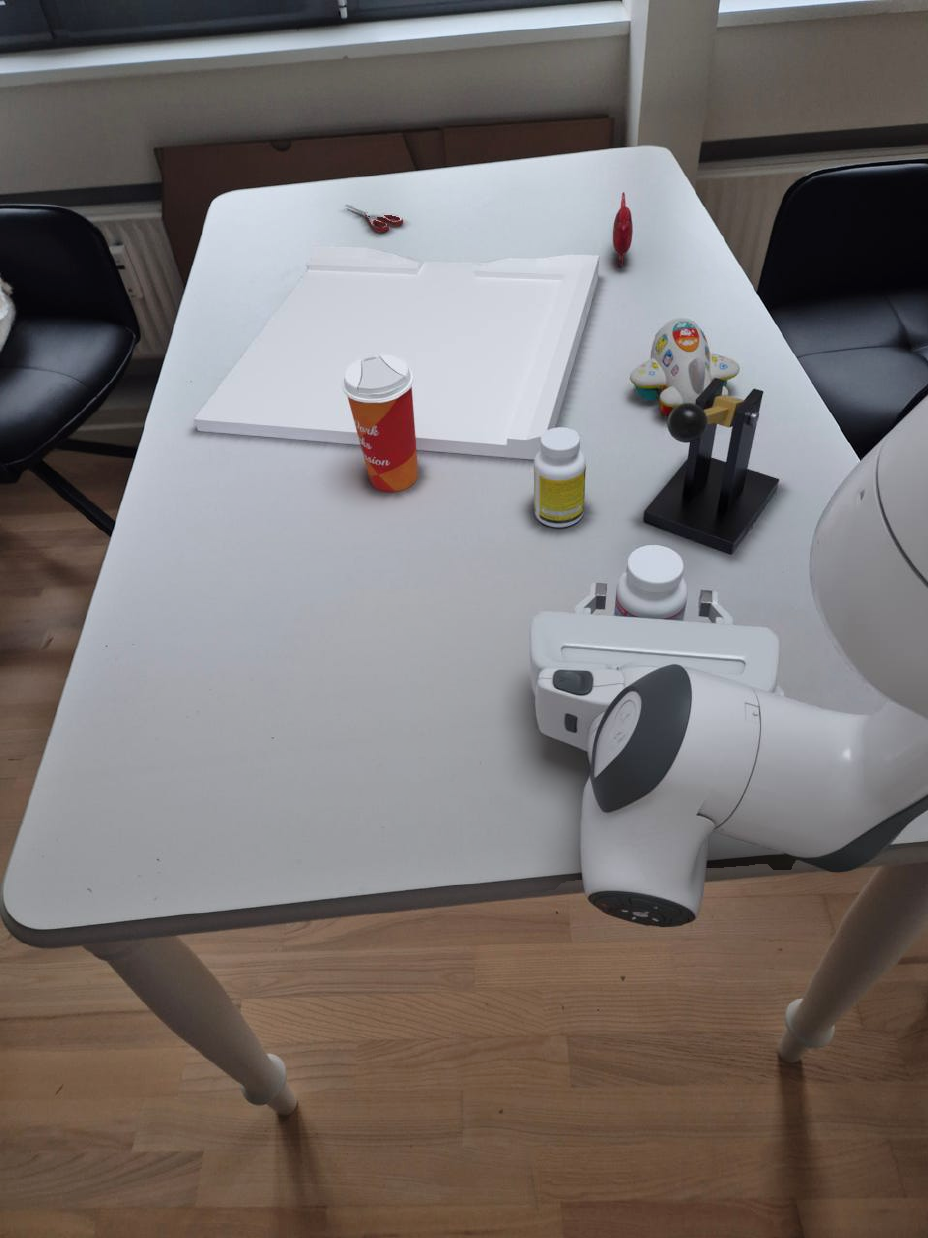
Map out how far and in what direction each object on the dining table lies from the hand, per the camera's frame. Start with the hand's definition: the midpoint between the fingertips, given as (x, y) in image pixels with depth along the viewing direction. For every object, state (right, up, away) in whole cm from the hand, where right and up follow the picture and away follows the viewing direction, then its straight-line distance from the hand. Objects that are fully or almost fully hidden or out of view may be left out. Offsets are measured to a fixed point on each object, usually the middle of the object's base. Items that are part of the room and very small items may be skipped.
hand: (652, 591), depth 76 cm
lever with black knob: (+6, +15, +5) cm, 17 cm away
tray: (-23, +35, +44) cm, 61 cm away
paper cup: (-25, +14, +25) cm, 38 cm away
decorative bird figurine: (+8, +54, +59) cm, 80 cm away
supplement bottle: (-6, +9, +19) cm, 22 cm away
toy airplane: (+10, +25, +32) cm, 42 cm away
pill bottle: (0, -5, +5) cm, 7 cm away
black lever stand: (+10, +10, +17) cm, 22 cm away
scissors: (-33, +68, +75) cm, 107 cm away
